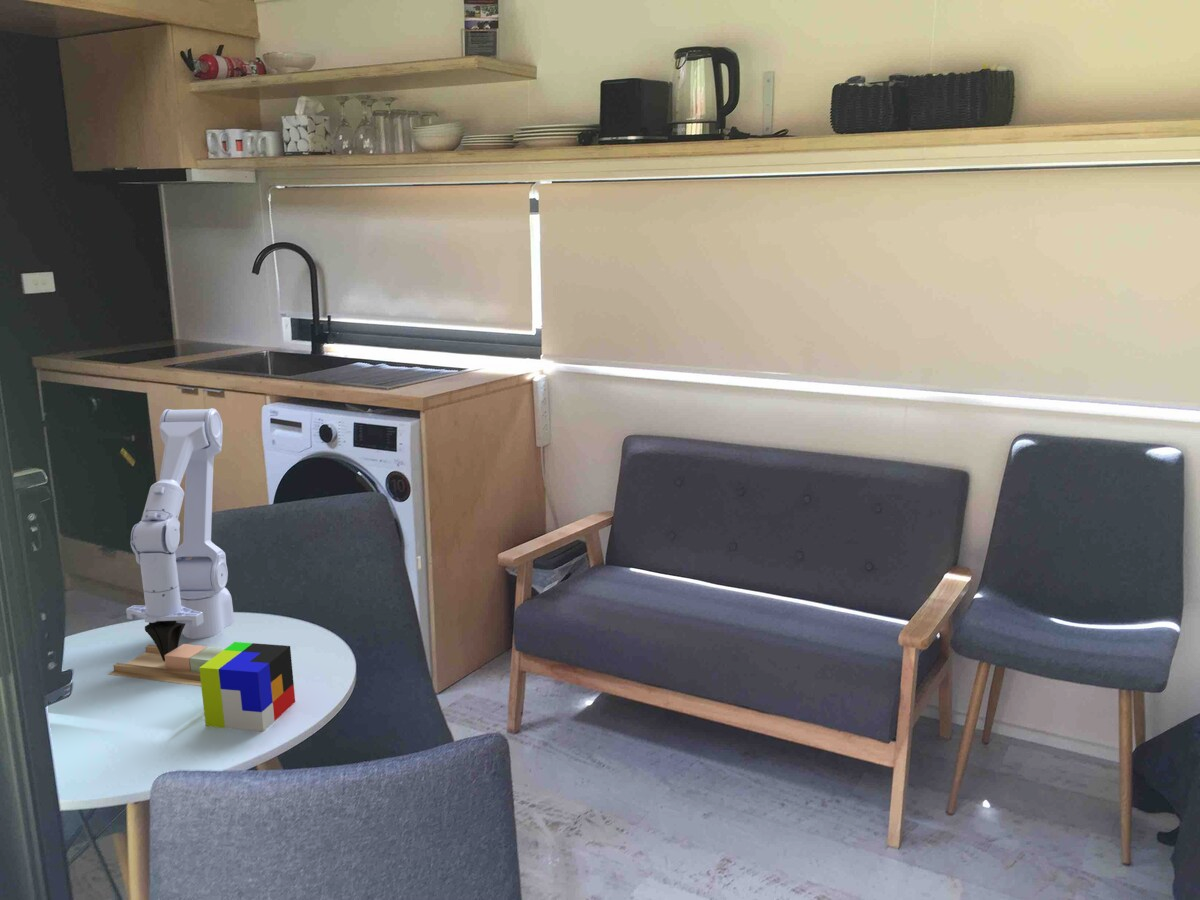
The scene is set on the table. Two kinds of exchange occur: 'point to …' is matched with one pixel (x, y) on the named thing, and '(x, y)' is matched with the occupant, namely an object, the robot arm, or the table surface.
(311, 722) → the table surface
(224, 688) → the puzzle toy
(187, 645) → the peach pink cube
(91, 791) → the table surface
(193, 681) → the oak channel board
